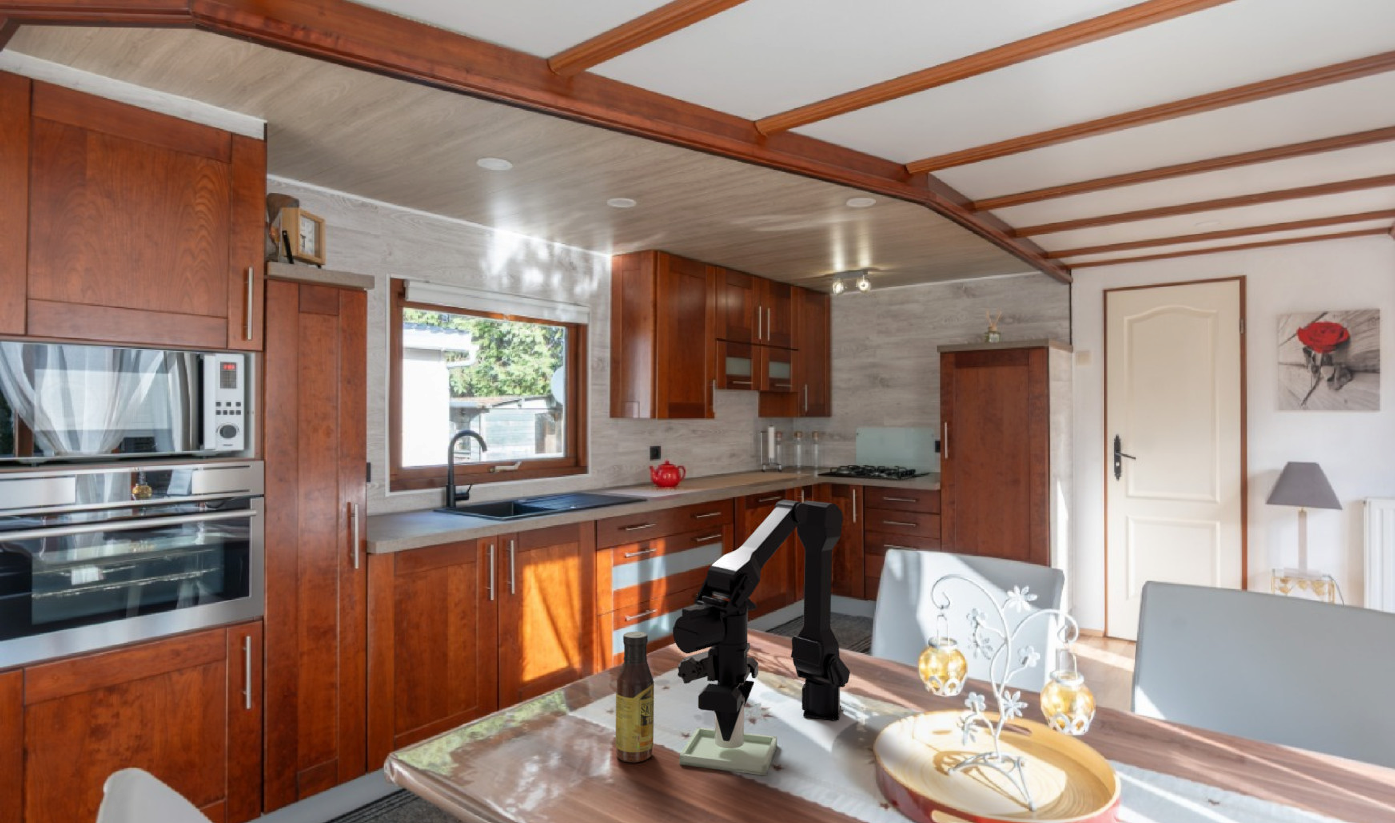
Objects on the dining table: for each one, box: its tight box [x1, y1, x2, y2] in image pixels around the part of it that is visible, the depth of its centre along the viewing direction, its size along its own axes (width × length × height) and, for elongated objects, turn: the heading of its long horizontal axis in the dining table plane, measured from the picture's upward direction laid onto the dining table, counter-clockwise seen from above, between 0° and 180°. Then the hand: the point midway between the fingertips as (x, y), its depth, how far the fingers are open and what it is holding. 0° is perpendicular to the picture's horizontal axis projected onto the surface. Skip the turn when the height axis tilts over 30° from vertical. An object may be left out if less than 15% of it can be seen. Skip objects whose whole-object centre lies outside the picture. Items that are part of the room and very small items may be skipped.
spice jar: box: [714, 695, 745, 749], centre depth 125 cm, size 5×5×7 cm
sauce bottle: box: [615, 631, 655, 763], centre depth 125 cm, size 6×6×20 cm
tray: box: [679, 726, 778, 777], centre depth 125 cm, size 14×11×2 cm
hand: (729, 733), depth 125 cm, fingers closed on spice jar, 5 cm apart
